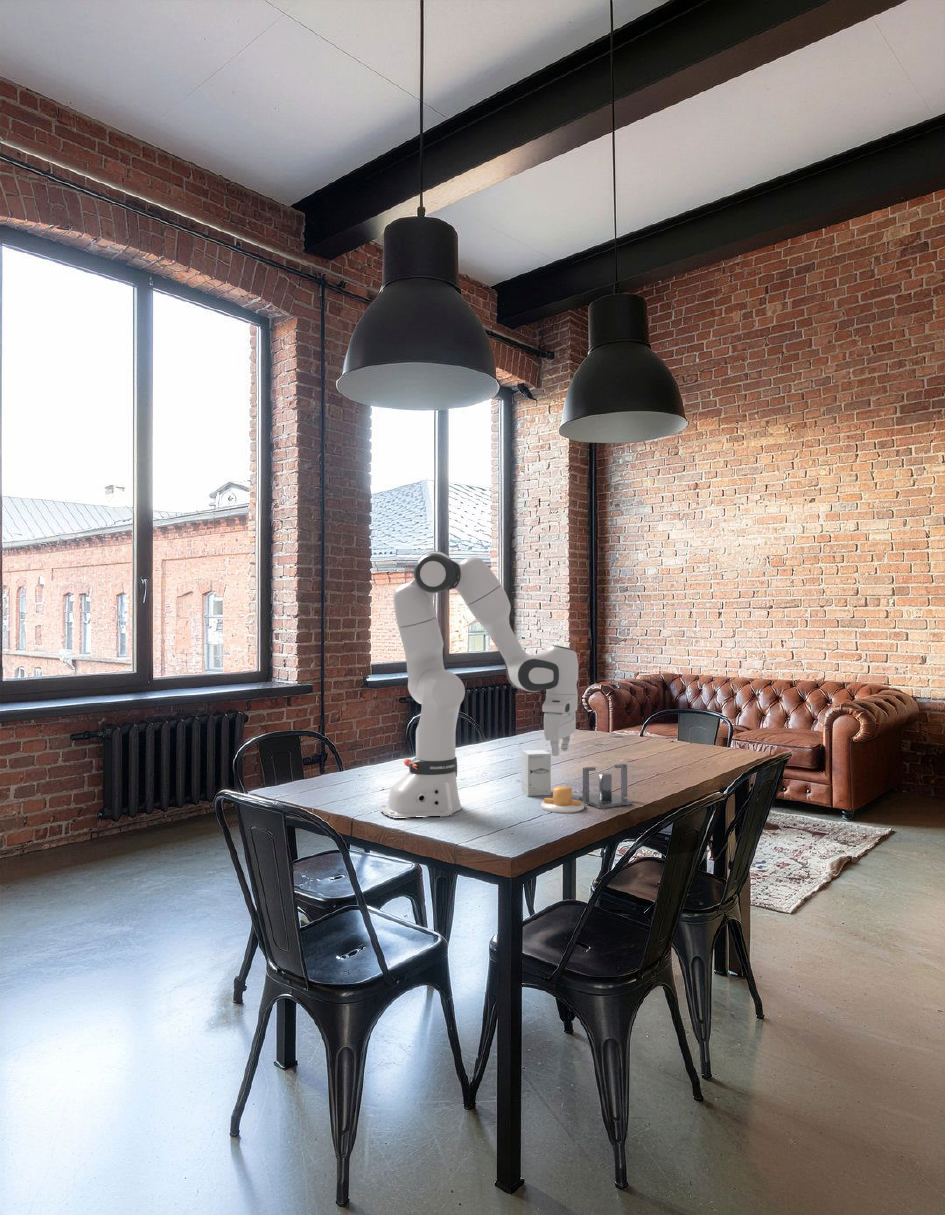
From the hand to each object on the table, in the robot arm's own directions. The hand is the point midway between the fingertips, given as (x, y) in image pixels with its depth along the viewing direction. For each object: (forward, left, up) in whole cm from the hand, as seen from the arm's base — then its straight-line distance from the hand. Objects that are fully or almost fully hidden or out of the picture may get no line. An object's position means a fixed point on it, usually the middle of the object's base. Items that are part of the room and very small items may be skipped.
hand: (560, 753), depth 219 cm
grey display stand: (+15, 0, -15) cm, 21 cm away
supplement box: (+2, +18, -15) cm, 24 cm away
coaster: (+1, 0, -15) cm, 15 cm away
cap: (+1, 0, -14) cm, 14 cm away
